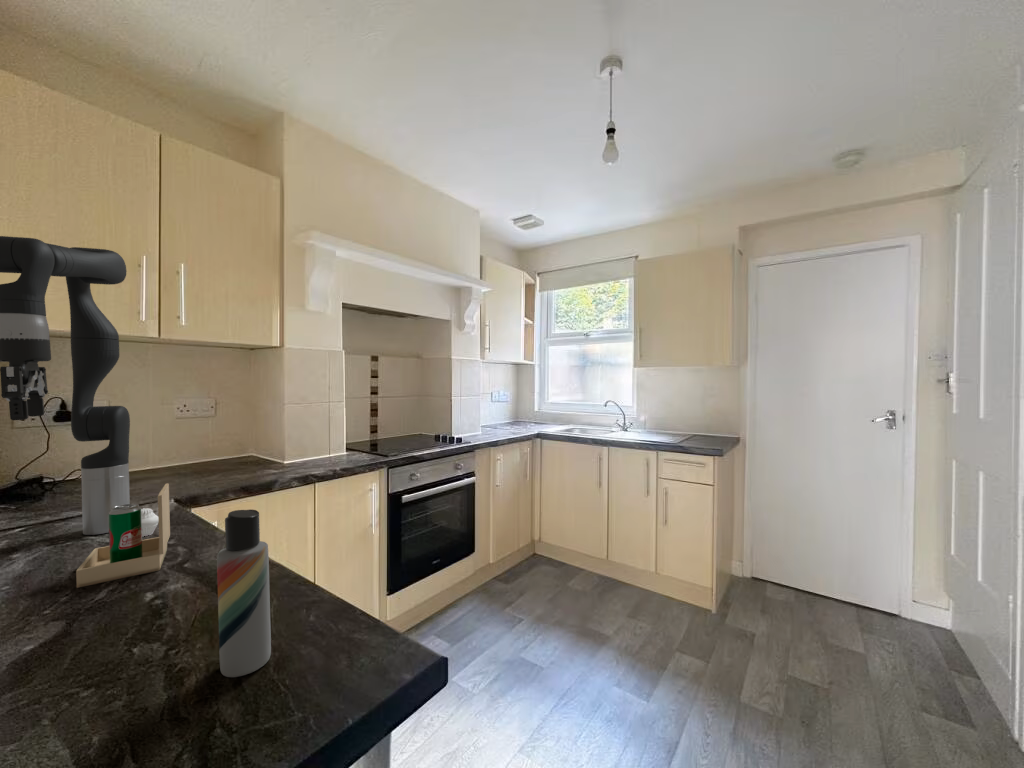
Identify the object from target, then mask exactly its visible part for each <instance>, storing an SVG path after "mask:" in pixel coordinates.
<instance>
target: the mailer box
mask: <svg viewBox="0 0 1024 768" xmlns="http://www.w3.org/2000/svg"><path fill="white" fill-rule="evenodd" d="M157 509H158V511H157V513H158V515H157V516H158V517H159V522H158V537H157V536H156V537H151V538H146V539H145V538H144V539H142V553H143V557H140V558H135V559H130V560H125V561H120V562H115V563H110V552H109V545H107V546H102V547H95V548H94V549H93V550H92V551H91V552H90V554H88V556H87V557H86V558H85V560H84V561H83V562H82V563H81V564H80V566H79V567H78V568H77V569H76V571H75V573H76V578H75V579H76V589H78V588H83V587H87V586H93V585H98V584H101V583H102V584H103V583H107V582H112V581H117V580H120V579H125V578H130V577H135V576H140V575H144V574H149V573H153V572H159V571H161V568H162V565H163V562H164V559H165V557H166V555H167V552H168V541H169V538H170V537H171V521H170V519H171V518H170V517H171V516H170V513H171V512H170V484H169V483H165V484H164V486H163V487H162V488H161V490H160V491H159V493H158V495H157Z"/></svg>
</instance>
